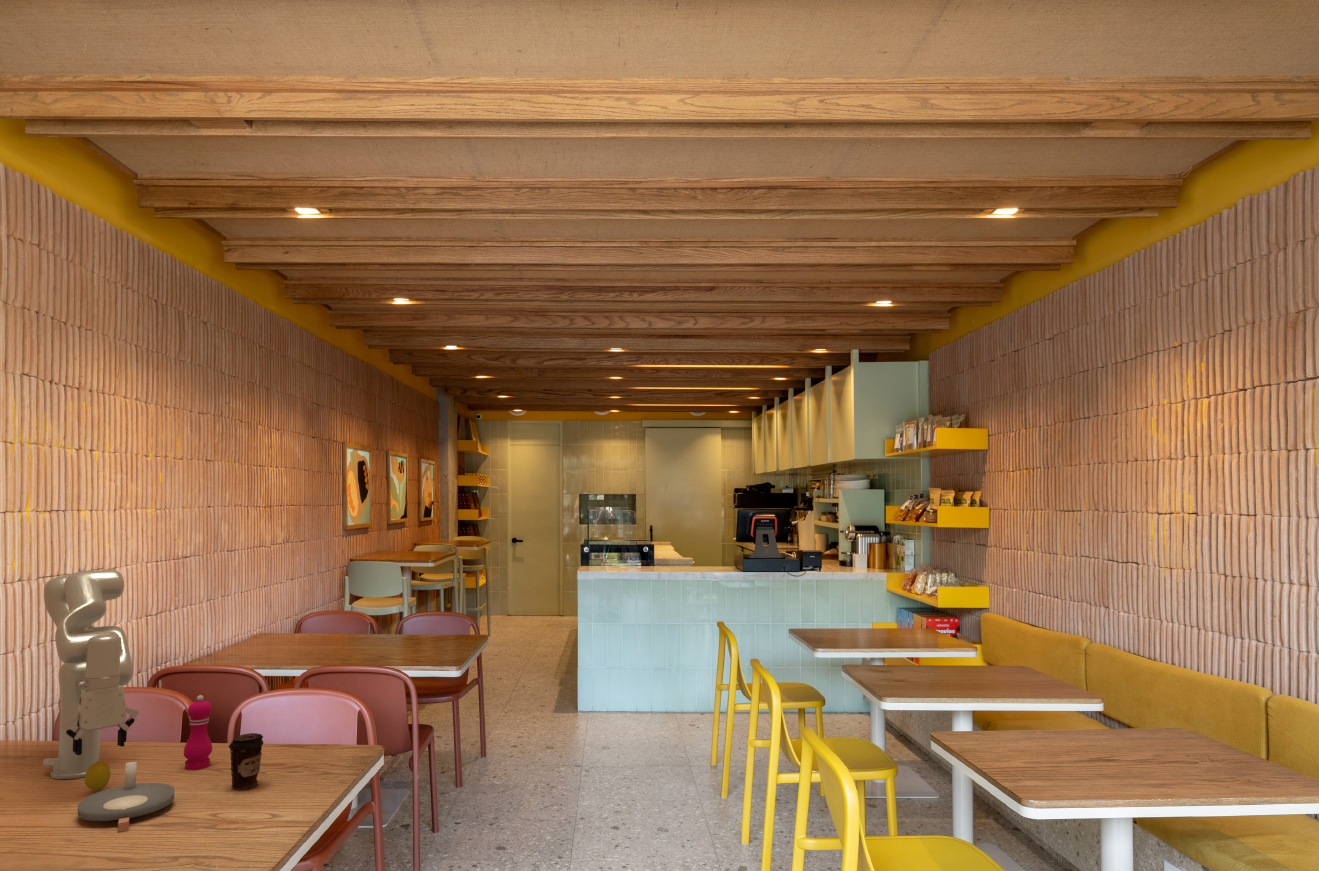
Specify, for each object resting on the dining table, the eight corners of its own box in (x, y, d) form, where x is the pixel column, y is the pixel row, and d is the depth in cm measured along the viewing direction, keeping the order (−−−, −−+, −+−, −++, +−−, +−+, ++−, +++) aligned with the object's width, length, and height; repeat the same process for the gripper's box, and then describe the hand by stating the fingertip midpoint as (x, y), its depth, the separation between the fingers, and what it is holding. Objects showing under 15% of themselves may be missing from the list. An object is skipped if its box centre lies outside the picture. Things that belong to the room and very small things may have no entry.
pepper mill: (217, 762, 241) (219, 692, 243) (201, 770, 234) (203, 698, 235) (193, 762, 242) (196, 692, 243) (177, 770, 235) (180, 697, 236)
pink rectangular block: (118, 827, 194) (119, 818, 194) (128, 826, 195) (129, 817, 195) (117, 832, 191) (118, 823, 191) (128, 830, 192) (128, 821, 192)
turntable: (91, 828, 190) (93, 792, 190) (67, 806, 203) (68, 772, 204) (186, 803, 205) (187, 770, 205) (158, 785, 218) (159, 754, 219)
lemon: (92, 788, 220) (93, 757, 220) (114, 788, 220) (115, 757, 221) (79, 796, 214) (80, 764, 215) (101, 795, 215) (103, 763, 215)
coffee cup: (270, 783, 224) (272, 733, 225) (245, 793, 216) (247, 742, 217) (245, 779, 227) (246, 730, 228) (220, 789, 219) (221, 739, 220)
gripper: (67, 690, 210) (64, 760, 208) (144, 679, 223) (141, 744, 222) (58, 687, 215) (55, 755, 213) (134, 676, 228) (132, 740, 226)
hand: (99, 749), depth 217 cm, fingers open, 9 cm apart
